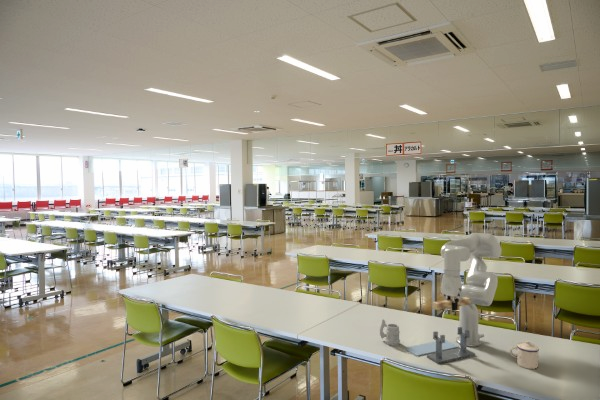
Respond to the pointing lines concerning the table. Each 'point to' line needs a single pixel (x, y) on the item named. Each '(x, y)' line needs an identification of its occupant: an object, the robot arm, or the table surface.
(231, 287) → the table surface
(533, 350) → the teacup with lid
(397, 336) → the mug
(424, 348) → the slate mat
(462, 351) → the stand
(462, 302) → the oak rail
